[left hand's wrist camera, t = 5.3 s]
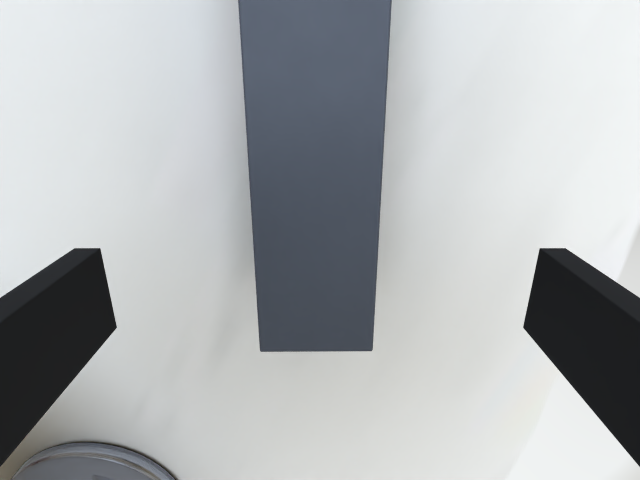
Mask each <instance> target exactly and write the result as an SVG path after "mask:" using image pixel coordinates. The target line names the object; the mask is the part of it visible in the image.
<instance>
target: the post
mask: <svg viewBox="0 0 640 480" xmlns="http://www.w3.org/2000/svg"><path fill="white" fill-rule="evenodd" d="M391 2H392V0H238V3H239V19H240V35H241V52H242V68H243V84H244V100H245V116H246V132H247V148H248V165H249V181H250V197H251V213H252V229H253V245H254V261H255V277H256V294H257V310H258V326H259V342H260V351H261V352H283V351H372V350H373V333H374V315H375V296H376V278H377V260H378V241H379V223H380V204H381V186H382V167H383V149H384V131H385V112H386V94H387V75H388V57H389V39H390V20H391Z"/></svg>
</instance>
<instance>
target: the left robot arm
mask: <svg viewBox="0 0 640 480" xmlns="http://www.w3.org/2000/svg"><path fill="white" fill-rule="evenodd" d="M116 328H117V326H116V322H115V317H114V312H113V307H112V302H111V298H110V293H109V288H108V283H107V279H106V274H105V269H104V264H103V259H102V255H101V250H100V248H74V249H73V250H71V251H70V252H68V253H67V254H65V255H64V256H62V257H61V258H59V259H58V260H56V261H55V262H53V263H52V264H50V265H49V266H47V267H46V268H44V269H43V270H41V271H40V272H38V273H37V274H35V275H34V276H32V277H31V278H29V279H28V280H26V281H25V282H23V283H22V284H20V285H19V286H17V287H16V288H14V289H13V290H11V291H10V292H8V293H7V294H5V295H4V296H2V297H1V298H0V466H1V465H2V464H3V463H4V462H5V460H6V459H7V458H8V457H9V456H10V454H11V453H12V452H13V451H14V450H15V448H16V447H17V446H18V445H19V444H20V443H21V441H22V440H23V439H24V438H25V437H26V435H27V434H28V433H29V432H30V431H31V429H32V428H33V427H34V426H35V425H36V423H37V422H38V421H39V420H40V419H41V417H42V416H43V415H44V414H45V413H46V411H47V410H48V409H49V408H50V407H51V405H52V404H53V403H54V402H55V401H56V399H57V398H58V397H59V396H60V395H61V394H62V392H63V391H64V390H65V389H66V388H67V386H68V385H69V384H70V383H71V382H72V380H73V379H74V378H75V377H76V376H77V374H78V373H79V372H80V371H81V370H82V368H83V367H84V366H85V365H86V364H87V362H88V361H89V360H90V359H91V358H92V356H93V355H94V354H95V353H96V352H97V351H98V349H99V348H100V347H101V346H102V345H103V343H104V342H105V341H106V340H107V339H108V337H109V336H110V335H111V334H112V333H113V331H114V330H115V329H116ZM523 328H524V329H525V330H526V331H527V333H528V334H529V335H530V336H531V337H532V339H533V340H534V341H535V342H536V343H537V345H538V346H539V347H540V348H541V349H542V351H543V352H544V353H545V354H546V355H547V356H548V358H549V359H550V360H551V361H552V362H553V364H554V365H555V366H556V367H557V368H558V370H559V371H560V372H561V373H562V374H563V376H564V377H565V378H566V379H567V380H568V382H569V383H570V384H571V385H572V386H573V388H574V389H575V390H576V391H577V392H578V394H579V395H580V396H581V397H582V398H583V399H584V401H585V402H586V403H587V404H588V405H589V407H590V408H591V409H592V410H593V411H594V413H595V414H596V415H597V416H598V417H599V419H600V420H601V421H602V422H603V423H604V425H605V426H606V427H607V428H608V429H609V431H610V432H611V433H612V434H613V435H614V437H615V438H616V439H617V440H618V441H619V442H620V444H621V445H622V446H623V447H624V448H625V450H626V451H627V452H628V453H629V454H630V456H631V457H632V458H633V459H634V460H635V462H636V463H637V464H638V465H639V466H640V298H639V297H638V296H636V295H635V294H633V293H632V292H630V291H629V290H627V289H626V288H624V287H623V286H621V285H620V284H618V283H617V282H615V281H614V280H612V279H611V278H609V277H608V276H606V275H605V274H603V273H602V272H600V271H599V270H597V269H596V268H594V267H593V266H591V265H590V264H588V263H587V262H585V261H584V260H582V259H581V258H579V257H578V256H576V255H575V254H573V253H572V252H570V251H569V250H567V249H566V248H540V250H539V255H538V259H537V264H536V269H535V274H534V279H533V283H532V288H531V293H530V298H529V302H528V307H527V312H526V317H525V322H524V326H523ZM11 480H175V479H174V478H173V477H172V476H171V475H170V474H169V473H168V472H167V471H166V470H165V469H163V468H162V467H161V466H159V465H158V464H156V463H155V462H153V461H152V460H150V459H148V458H146V457H144V456H142V455H140V454H138V453H135V452H133V451H130V450H127V449H124V448H121V447H117V446H112V445H107V444H100V443H70V444H64V445H59V446H55V447H52V448H49V449H46V450H44V451H41V452H39V453H38V454H36V455H34V456H33V457H31V458H30V459H28V460H27V461H26V462H25V463H24V464H23V465H22V466H21V467H20V468H19V470H18V471H17V472H16V474H15V475H14V476H13V477H12V479H11Z"/></svg>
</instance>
